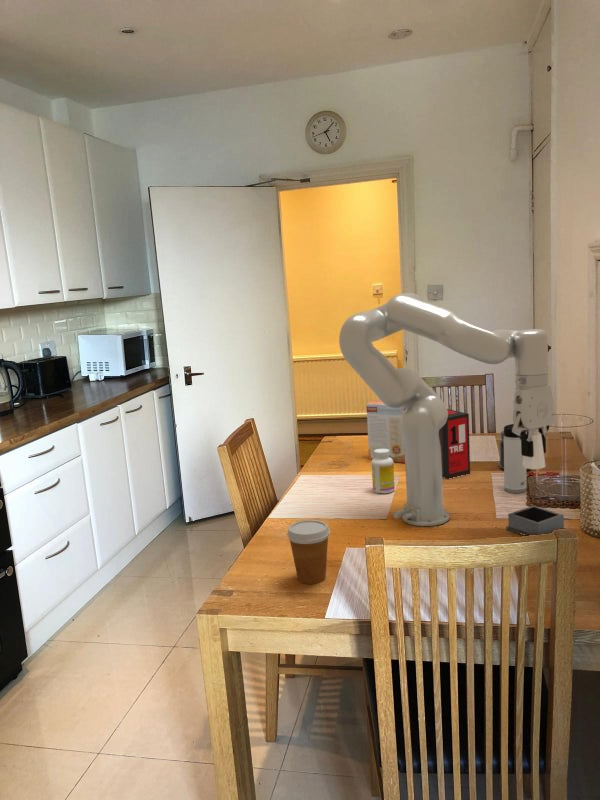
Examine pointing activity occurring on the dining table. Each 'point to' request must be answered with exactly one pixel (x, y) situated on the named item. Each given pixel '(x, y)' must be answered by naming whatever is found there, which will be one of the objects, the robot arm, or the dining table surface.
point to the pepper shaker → (535, 453)
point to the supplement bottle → (382, 472)
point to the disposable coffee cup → (309, 549)
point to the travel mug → (513, 463)
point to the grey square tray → (535, 521)
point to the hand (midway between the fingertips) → (533, 453)
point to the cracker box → (385, 430)
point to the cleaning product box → (455, 445)
